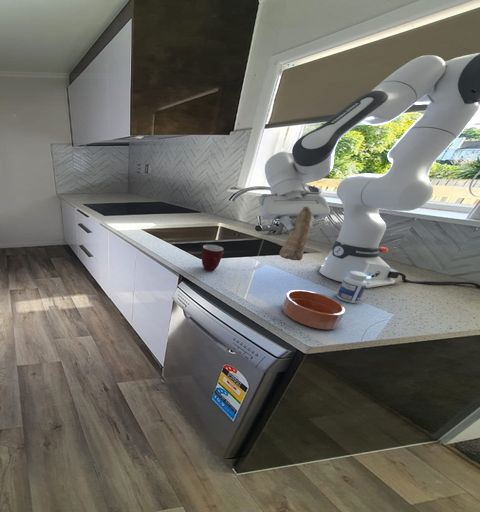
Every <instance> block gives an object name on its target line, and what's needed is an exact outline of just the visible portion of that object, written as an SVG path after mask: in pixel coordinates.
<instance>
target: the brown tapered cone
mask: <svg viewBox="0 0 480 512" xmlns="http://www.w3.org/2000/svg"><path fill="white" fill-rule="evenodd" d="M311 216H312V212H311V210H310V208H309V207H304V208H303V209H302V210H301V212H300V213H299V215H298V217H297V218H296V219H295V220H294V221H295V222H294V224H295V229H293V230H290V232H289V235H288V236H287V239H286V240H285V243H284V244H283V246H282V247H281V249H280V250H279V254H278V255H279V256H280V257H281V258H283V259H286V260H290V261H298V262H299V261H302V259H303V256H304V252H305V248H306V243H307V240H308V235H309V234H310V230H309V228H310V223H311Z"/></svg>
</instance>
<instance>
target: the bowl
mask: <svg viewBox="0 0 480 512" xmlns="http://www.w3.org/2000/svg"><path fill="white" fill-rule="evenodd" d="M281 308H282V312H283V313H284V314H285V315H286V316H287V317H288V318H290V319H292V320H293V321H295V322H297V323H299V324H301V325H303V326H307V327H309V328H313V329H318V330H335V329H337V328H338V327H339V325H340V323H341V321H342V319H343V317H344V314H345V313H346V309H345V307H344V305H342V304H341V303H340V302H339V301H337V300H335V299H333V298H331V297H329V296H328V295H324V294H321V293H319V292H315V291H310V290H302V289H292V290H289V291H287V292H286V294H285V297H284V299H283V303H282V305H281Z"/></svg>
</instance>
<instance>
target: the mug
mask: <svg viewBox="0 0 480 512" xmlns="http://www.w3.org/2000/svg"><path fill="white" fill-rule="evenodd" d="M224 249H225V248H224V247H222V246H220V245H217V244H204V245H202V249H201V264H202V266H203V269H204V270H205V271H207V272H214V271H215V270H216V269H217V268H218V267H219V265H220V262H221V260H222V258H223V255H224Z"/></svg>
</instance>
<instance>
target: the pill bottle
mask: <svg viewBox="0 0 480 512" xmlns="http://www.w3.org/2000/svg"><path fill="white" fill-rule="evenodd" d="M366 278H367V275H366V274H365V273H362V272H358V271H350V273H349V276H348V277H345V278H344V279H343V282H341V284H340V287H339V290H338V292H337V295H336V297H337V298H338V299H339V300H341V301H343V302H346V303H351V304H357V303H359V302H360V300H361V298H362V296H363V293H364V291H365V289H366V288H365V287H366V285H367V282H366V281H365V279H366Z"/></svg>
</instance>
